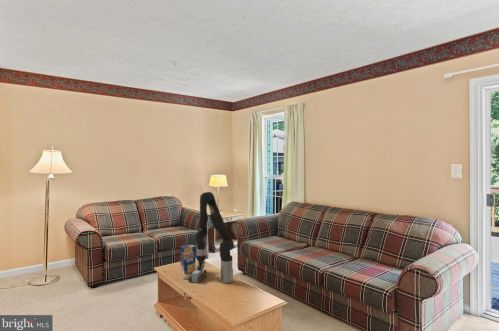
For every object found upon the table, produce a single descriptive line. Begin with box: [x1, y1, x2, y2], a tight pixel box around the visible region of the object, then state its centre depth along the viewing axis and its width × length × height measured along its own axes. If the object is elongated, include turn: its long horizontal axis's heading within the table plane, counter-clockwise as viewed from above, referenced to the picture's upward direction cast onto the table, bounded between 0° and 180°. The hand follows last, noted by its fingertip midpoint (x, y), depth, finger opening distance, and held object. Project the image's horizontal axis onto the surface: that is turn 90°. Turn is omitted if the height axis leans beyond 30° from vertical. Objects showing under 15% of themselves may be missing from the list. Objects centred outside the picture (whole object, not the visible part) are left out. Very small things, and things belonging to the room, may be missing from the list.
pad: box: [183, 274, 192, 281], centre depth 251 cm, size 9×9×1 cm
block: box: [191, 269, 203, 284], centre depth 245 cm, size 5×8×7 cm, turn 166°
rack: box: [188, 268, 207, 284], centre depth 247 cm, size 10×14×6 cm
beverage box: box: [180, 244, 197, 274], centre depth 266 cm, size 7×11×22 cm, turn 132°
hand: (200, 274), depth 254 cm, fingers closed
